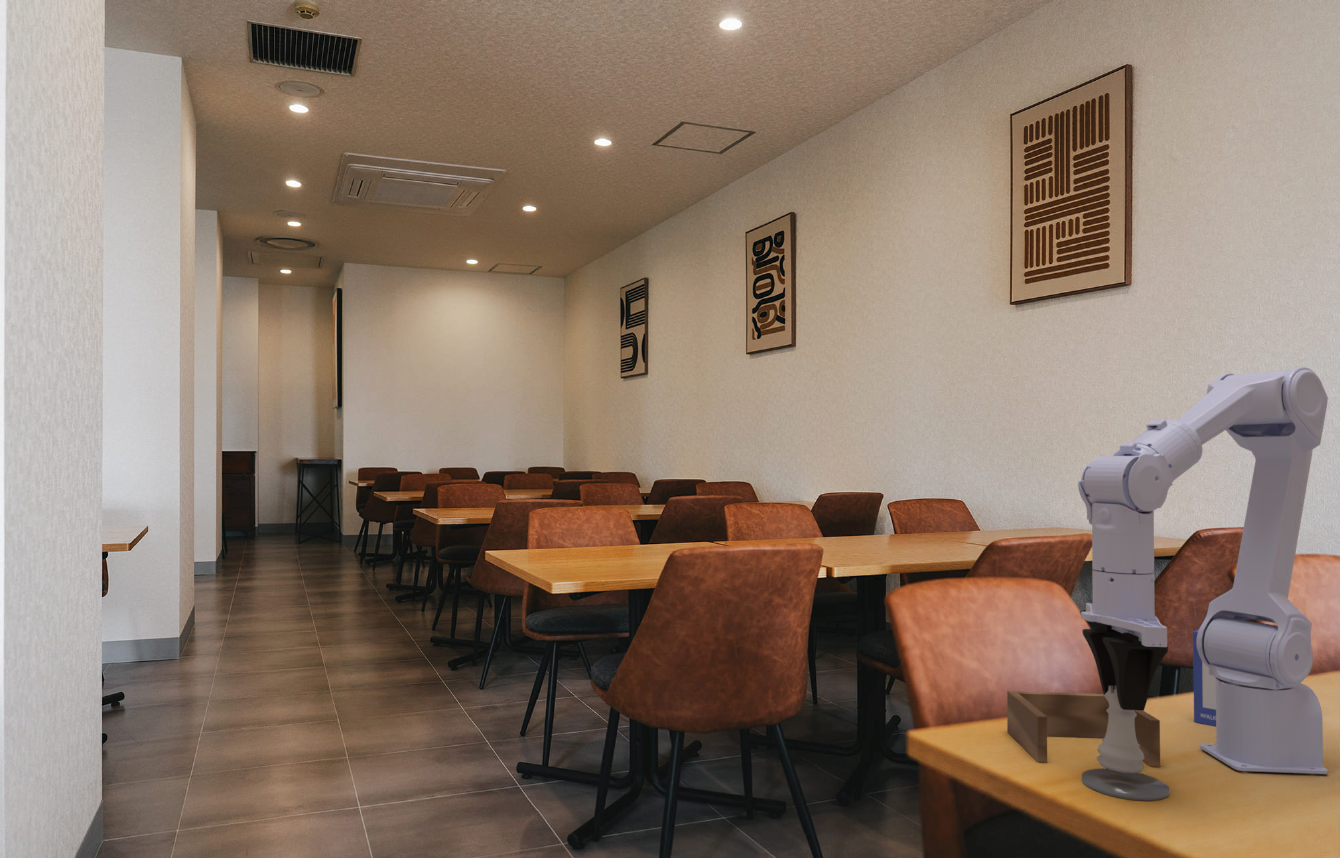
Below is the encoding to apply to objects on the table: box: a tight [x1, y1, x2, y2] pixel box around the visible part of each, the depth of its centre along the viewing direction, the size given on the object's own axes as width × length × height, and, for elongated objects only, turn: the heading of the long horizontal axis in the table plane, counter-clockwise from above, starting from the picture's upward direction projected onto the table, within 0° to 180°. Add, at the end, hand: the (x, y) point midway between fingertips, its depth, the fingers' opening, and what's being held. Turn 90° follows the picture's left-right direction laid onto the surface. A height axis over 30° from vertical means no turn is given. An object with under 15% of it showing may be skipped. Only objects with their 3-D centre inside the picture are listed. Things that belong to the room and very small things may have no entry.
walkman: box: [1192, 628, 1216, 727], centre depth 112 cm, size 8×3×12 cm, turn 44°
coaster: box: [1081, 768, 1170, 802], centre depth 90 cm, size 8×8×1 cm
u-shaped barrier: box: [1006, 690, 1161, 768], centre depth 102 cm, size 13×11×5 cm
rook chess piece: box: [1096, 685, 1146, 774], centre depth 90 cm, size 4×4×8 cm
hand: (1123, 704), depth 91 cm, fingers closed on rook chess piece, 3 cm apart
